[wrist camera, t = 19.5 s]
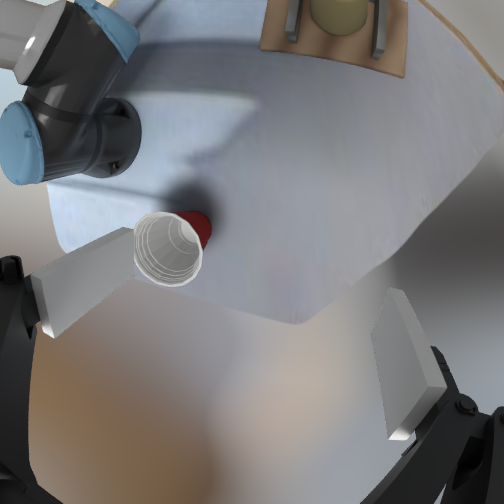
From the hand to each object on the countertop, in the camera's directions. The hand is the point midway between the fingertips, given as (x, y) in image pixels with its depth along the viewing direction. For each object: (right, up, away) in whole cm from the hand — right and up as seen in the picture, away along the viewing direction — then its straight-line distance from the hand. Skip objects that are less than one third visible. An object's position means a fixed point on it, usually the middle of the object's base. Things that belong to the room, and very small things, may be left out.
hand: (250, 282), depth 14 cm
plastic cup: (-9, +6, +35) cm, 36 cm away
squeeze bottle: (+13, +36, +18) cm, 42 cm away
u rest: (+13, +37, +18) cm, 43 cm away
